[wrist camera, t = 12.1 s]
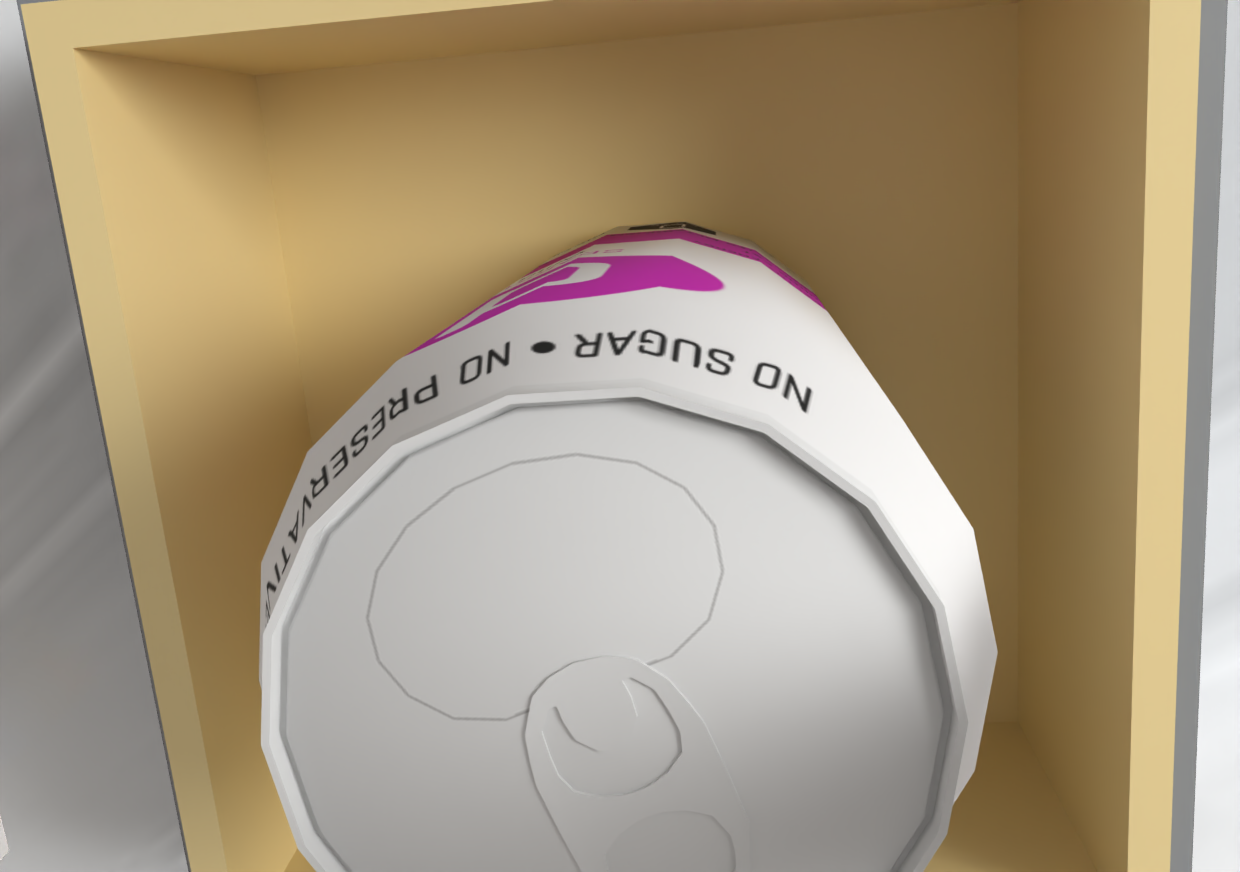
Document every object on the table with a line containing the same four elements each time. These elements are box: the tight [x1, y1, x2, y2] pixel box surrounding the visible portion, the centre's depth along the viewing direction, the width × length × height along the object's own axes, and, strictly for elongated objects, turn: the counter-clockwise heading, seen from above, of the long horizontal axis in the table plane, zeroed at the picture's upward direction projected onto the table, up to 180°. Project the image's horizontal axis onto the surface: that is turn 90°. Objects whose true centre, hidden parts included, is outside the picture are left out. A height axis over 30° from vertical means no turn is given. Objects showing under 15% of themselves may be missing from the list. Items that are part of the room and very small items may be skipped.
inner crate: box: [20, 0, 1201, 872], centre depth 23 cm, size 17×17×8 cm
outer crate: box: [17, 0, 1228, 872], centre depth 24 cm, size 20×20×7 cm
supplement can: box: [259, 221, 998, 872], centre depth 19 cm, size 8×8×15 cm
